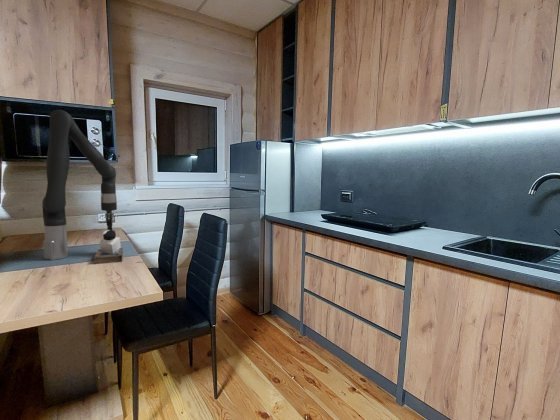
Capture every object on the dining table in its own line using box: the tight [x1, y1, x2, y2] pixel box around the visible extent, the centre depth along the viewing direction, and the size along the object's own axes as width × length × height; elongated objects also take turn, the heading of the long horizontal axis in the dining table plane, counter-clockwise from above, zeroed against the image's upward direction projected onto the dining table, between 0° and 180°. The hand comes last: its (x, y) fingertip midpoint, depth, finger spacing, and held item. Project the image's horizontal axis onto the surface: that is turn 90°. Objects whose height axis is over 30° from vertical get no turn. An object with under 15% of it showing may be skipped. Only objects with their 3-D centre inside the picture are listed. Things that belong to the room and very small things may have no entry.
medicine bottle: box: [99, 229, 122, 254], centre depth 163 cm, size 7×7×12 cm
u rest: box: [93, 247, 124, 265], centre depth 156 cm, size 18×12×3 cm, turn 26°
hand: (110, 232), depth 165 cm, fingers closed
